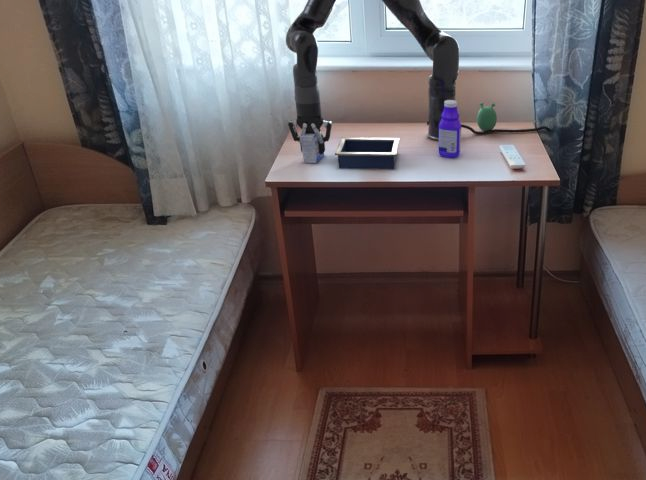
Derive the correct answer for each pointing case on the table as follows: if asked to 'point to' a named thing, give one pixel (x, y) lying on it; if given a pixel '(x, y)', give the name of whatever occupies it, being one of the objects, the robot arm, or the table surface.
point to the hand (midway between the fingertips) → (313, 153)
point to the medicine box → (310, 148)
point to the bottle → (449, 131)
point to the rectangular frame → (367, 153)
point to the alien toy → (486, 117)
